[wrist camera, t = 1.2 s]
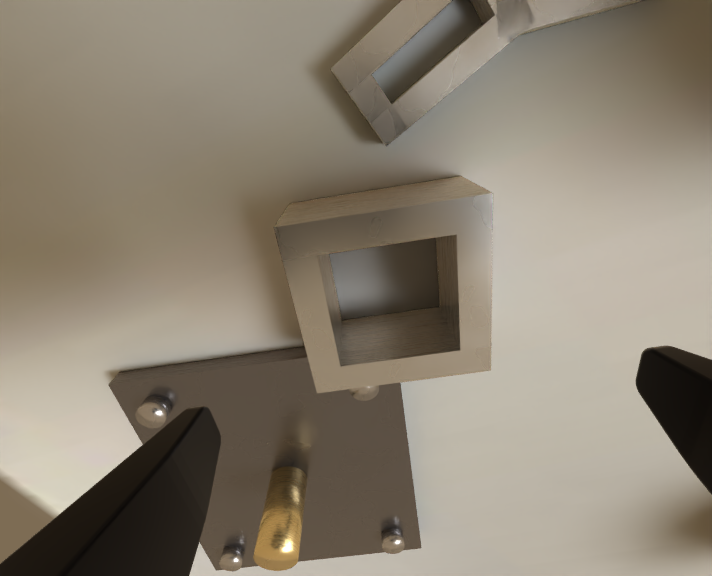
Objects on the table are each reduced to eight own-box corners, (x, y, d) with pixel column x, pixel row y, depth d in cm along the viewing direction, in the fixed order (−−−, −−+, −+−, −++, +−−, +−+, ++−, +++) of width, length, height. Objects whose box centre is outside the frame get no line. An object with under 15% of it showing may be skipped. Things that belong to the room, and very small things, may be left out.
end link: (461, 175, 12) (492, 192, 10) (465, 323, 15) (490, 370, 12) (289, 203, 13) (273, 227, 10) (322, 343, 15) (316, 393, 13)
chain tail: (684, -133, 9) (721, -160, 8) (644, 100, 11) (669, 99, 11) (311, -60, 10) (307, -78, 9) (344, 150, 12) (344, 153, 11)
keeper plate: (393, 334, 15) (408, 410, 11) (418, 533, 21) (434, 627, 17) (119, 372, 16) (44, 456, 12) (220, 555, 22) (192, 651, 18)
